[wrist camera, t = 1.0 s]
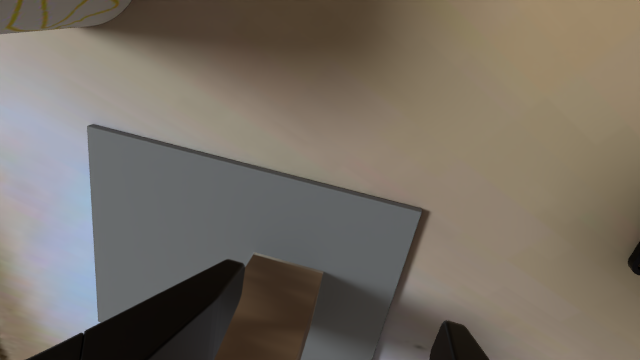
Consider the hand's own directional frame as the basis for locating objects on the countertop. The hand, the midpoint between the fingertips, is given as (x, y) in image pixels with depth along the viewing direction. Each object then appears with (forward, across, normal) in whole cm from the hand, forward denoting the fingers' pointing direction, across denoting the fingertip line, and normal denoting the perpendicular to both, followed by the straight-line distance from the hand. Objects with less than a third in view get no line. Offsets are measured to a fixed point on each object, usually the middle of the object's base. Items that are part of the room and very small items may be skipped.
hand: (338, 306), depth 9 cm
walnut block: (+12, +3, +10) cm, 16 cm away
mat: (+12, +6, +10) cm, 17 cm away
